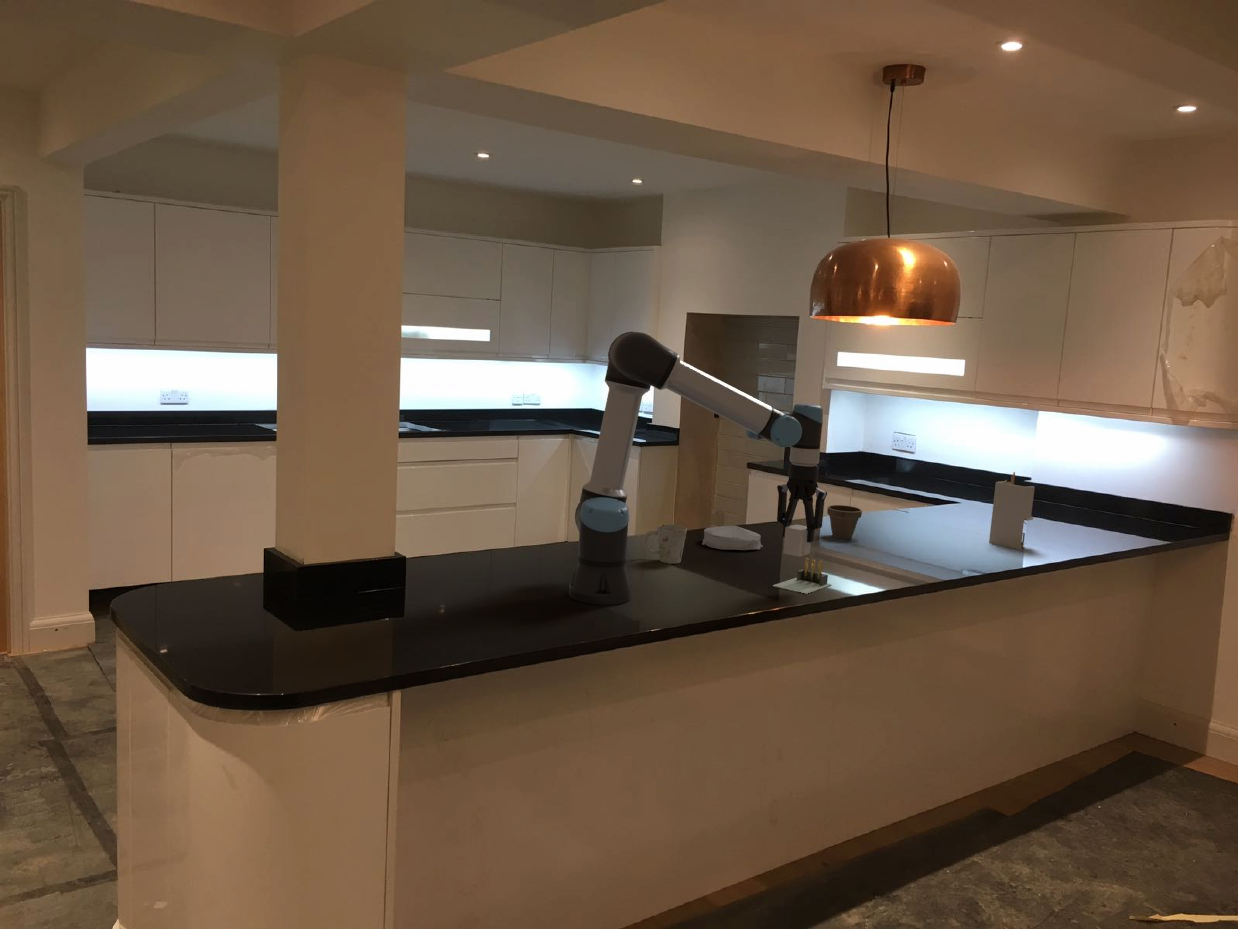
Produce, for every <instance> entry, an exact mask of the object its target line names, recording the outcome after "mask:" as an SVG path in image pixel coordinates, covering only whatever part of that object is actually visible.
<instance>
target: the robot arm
mask: <svg viewBox="0 0 1238 929" xmlns="http://www.w3.org/2000/svg"><path fill="white" fill-rule="evenodd" d="M607 353H608V354H607V356H608V358H607V360H608V361H607V362H608V364H607V368H606V372H605V377H604V382H605V384H606V385H607V387H608V391H607V392H608V393H607V398H606V403H605V406H604V412H603V415H602V416H603V417H602V421H601V426H600V431H599V435H598V441H597V444H596V446H597V447H596V451H595V455H594V460H593V464H592V465H593V466H592V470H591V475H590V480H589V481H588V482H586V483H585V484H583V485H582V489H581V492H580V493H581V494H580V498H579V503H578V504H577V507H576V509H575V513H574V519H575V520H574V522H575V525H576V527H577V530H578V533H579V534H578V535H579V536H578V552H577V553H578V554H577V565H576V568H575V571H574V573H573V575H572V578H571V582H570V583H569V587H568V589H569V590H568V597H570V598H571V599H572V600H575V601H576V602H577V601H578V602H580V603H583V604H584V603H586V604H591V605H603V606H604V605H609V606H610V605H611V606H612V605H618V604H624V603H627V602H629V601H630V600H631V598H632V587H631V585H630V582H629V581H630V580H629V576H628V571H627V568H626V567H627V566H626V565H627V564H626V561H627V548H628V534H629V533H628V530H629V522H630V514H629V513H630V512H629V510H630V509H629V507H628V505H627V499H628V494H627V492H626V490H625V488H624V484H625V481H626V480H625V479H626V475H627V471H628V467H629V466H628V465H629V461H630V455H631V451H632V447H633V442H634V437H635V433H636V427H637V424H638V419H639V414H640V409H641V404H642V399H643V396H644V395H646V393H648V392H650V391H651V387H652V388H655V389H657V390H659V391H663V390H665V389H666V390H668V391H670V392H672V393H674V394H677V395H679V396H680V397H682V398H684V399H687V400H688V401H690V402H693V403H694V404H696V405H698V406H700V407H702V408H703V409H706V410H708V411H710V412H713V413H714V414H716V415H718V416H720V417H721V418H723V419H725V420H728V421H729V422H731V423H734V424H736V425H738V426H740V427H742V428H744V429H745V434H746V436H747V438H749V439H751V440H752V439H753V440H758V441H759V440H766V441H768V442H770V443H773V444H774V445H776V446H778V447H781V448H790V451H789V462H790V464H789V465H788V480H787V482H786V483H784V484H779V485H778V484H777V487H776V489H777V493H778V497H777V515H776V522H777V523H780V524H782V526H783V528H782V538H784V539H785V527H788V526H793V518H794V517H795V516H794V515H795V512H796V508H797V505H798V502H799V501H800V500H801V501H802V504H803V507H804V515H805V516H804V517H805V523H806V524H805V525H806V526H807V528H806V530H804V537H803V549H802V555H803V556H806V555H810V554H811V545H810V543H813V542H814V539H815V531H816V530H818V529H821V528H823V519H824V509H825V500H826V498H827V496H828V492H827V490H823V489H820V488H819V485H818V479H819V468H820V467H819V466H818V464H819V463H820V457H821V456H820V455H821V454H820V453H821V440H822V432H823V425H824V422H823V420H824V418H823V417H824V415H823V414H824V412H823V411H824V409H823V408H822V406H820V405H818V404H814V403H813V404H809V403H795V404H793V405H794V406H793V408H792V410H789V411H786V410H785V411H784V410H778V409H776V408H774V407H772V406H771V405H769V404H766V403H765V402H762V401H761V400H759V399H757V398H755V397H753V396H751V395H750V394H747V393H745V392H744V391H741V390H739V389H738V388H736V387H734V386H732V385H730V384H728V383H726V382H724V381H722V380H720V379H719V378H717V377H715V376H713V375H710V374H708V373H706V372H705V371H703V370H701V369H698V368H697V367H695V366H693V365H691V364H689V363H687V362H686V361H683V360H682V359H681V357H680V354H679V353H678V352H676V351H673V350H672V349H670V348H668V347H667V346H665V345H664V344H662V343H661V342H660V341H658V340H657V339H655V338H654V337H652V335H649V334H647V333H644V332H639V331H626V332H624V333H621V334H620V335H618V336H616V338H614V340H613V341H612V343H611V344H610V346H609V348H608V352H607ZM788 492H789V493H790V494H789V495H790V496H789V499H788ZM814 495H815V497H816V500H815V506H814V497H813V496H814ZM787 499H788V500H787ZM788 501H789V502H788ZM787 503H788V505H787Z"/></svg>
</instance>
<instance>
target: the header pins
mask: <svg viewBox="0 0 1238 929" xmlns="http://www.w3.org/2000/svg"><path fill="white" fill-rule="evenodd" d="M809 561H810V558H809V557H806V558H805V559H804V567H803V570H804V579H802V580H804V581H809V582H813V583H818V584H819V583H820V576H821V574H822V572H823V571H822V569H823V561H822V560H819V561H818V563H817V564H818V565H817V573H818V574H817V582H816V581H814V573H815V572H816V559H811V566H810V571H811V576H810V580H807V576H808V571H809V563H810V562H809Z"/></svg>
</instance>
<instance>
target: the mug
mask: <svg viewBox="0 0 1238 929" xmlns="http://www.w3.org/2000/svg"><path fill="white" fill-rule="evenodd" d="M687 531H688V528H687V527H686V526H684V525H681V524H672V523H665V524H664V523H663V524H658V526H657V530H649V531H647V532H646V533H645V534H644V535H643V538H642V545H643V547H644V549H645V550H646V551H647V552H648V553H650V554H653V555H654V554H655V555H659V561H660V562H661V563H664V564H671V565H673V564H681V561H682V558H683V557H682V556H683V551H684V547H685V541H686V538H687ZM651 536H657V537H658V550H653V549H651V548H650V547H649V544H648V540H649V538H650V537H651Z"/></svg>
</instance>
